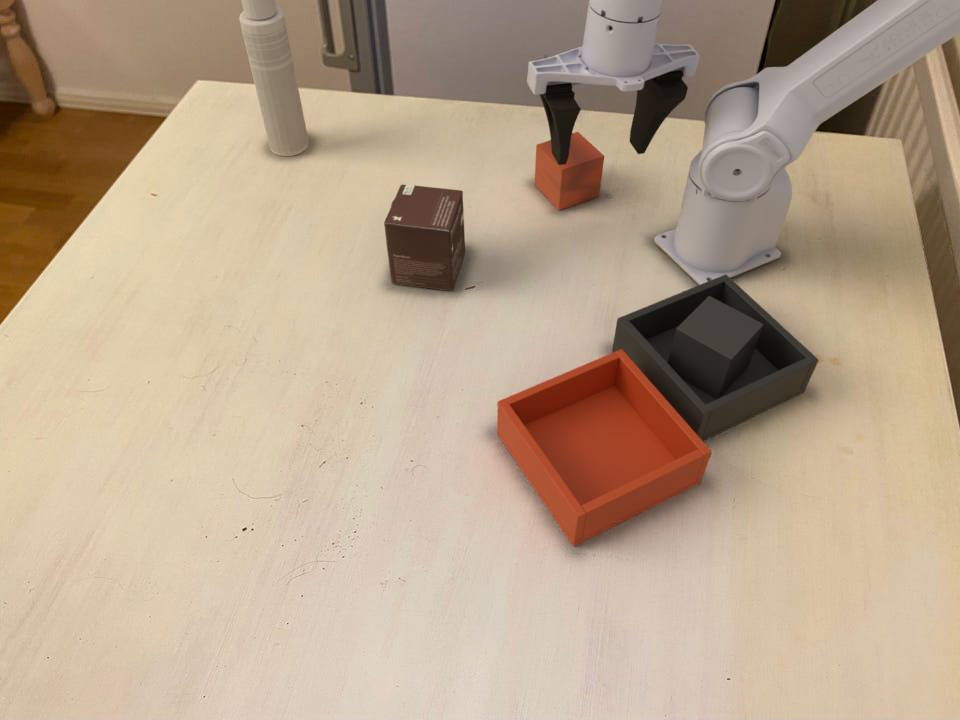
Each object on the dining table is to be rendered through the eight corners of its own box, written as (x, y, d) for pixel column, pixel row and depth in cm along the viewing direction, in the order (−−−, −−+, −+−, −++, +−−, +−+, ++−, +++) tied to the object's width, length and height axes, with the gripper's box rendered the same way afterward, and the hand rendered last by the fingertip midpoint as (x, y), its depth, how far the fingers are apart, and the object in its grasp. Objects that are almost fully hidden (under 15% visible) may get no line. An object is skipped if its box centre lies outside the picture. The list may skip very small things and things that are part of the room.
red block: (573, 171, 88) (577, 131, 84) (599, 196, 85) (604, 155, 81) (534, 184, 86) (536, 144, 83) (558, 210, 83) (562, 170, 80)
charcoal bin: (716, 307, 74) (726, 273, 71) (804, 392, 67) (819, 359, 64) (611, 351, 70) (617, 318, 67) (693, 446, 64) (703, 413, 61)
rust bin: (615, 381, 68) (621, 348, 65) (701, 482, 61) (712, 451, 58) (496, 433, 65) (497, 401, 62) (573, 547, 58) (578, 517, 55)
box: (452, 293, 75) (449, 231, 70) (389, 285, 76) (382, 223, 71) (466, 251, 79) (464, 189, 74) (406, 243, 80) (400, 182, 75)
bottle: (312, 135, 93) (278, -46, 78) (303, 157, 90) (266, -27, 75) (275, 133, 93) (234, -48, 78) (265, 155, 90) (220, -28, 75)
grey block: (697, 337, 71) (709, 295, 67) (748, 365, 68) (763, 324, 65) (665, 369, 68) (676, 328, 64) (718, 400, 66) (731, 359, 62)
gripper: (555, 39, 59) (536, 190, 70) (732, 21, 63) (689, 168, 73) (525, -5, 64) (512, 143, 74) (692, -20, 67) (657, 124, 77)
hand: (598, 152), depth 74 cm, fingers open, 7 cm apart
